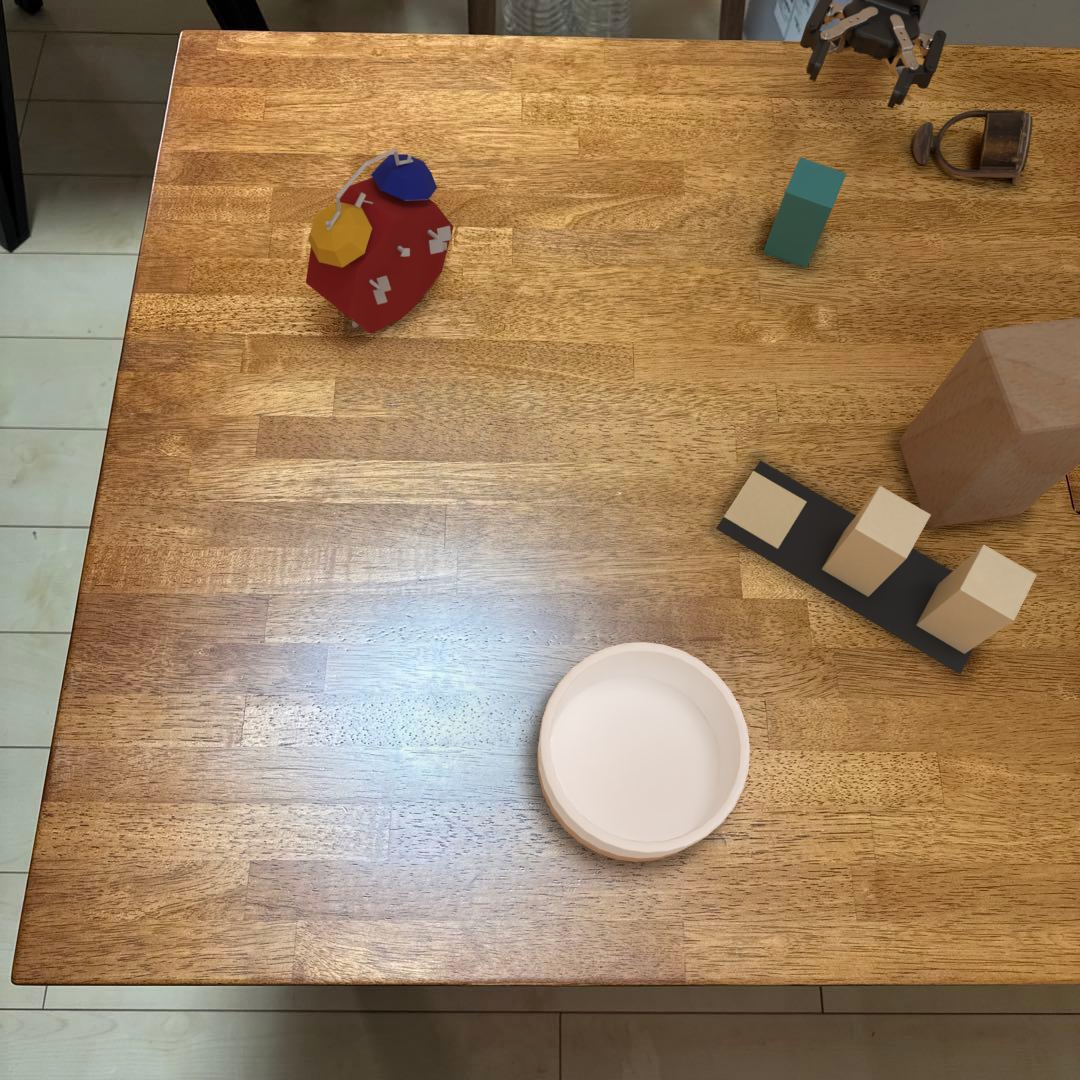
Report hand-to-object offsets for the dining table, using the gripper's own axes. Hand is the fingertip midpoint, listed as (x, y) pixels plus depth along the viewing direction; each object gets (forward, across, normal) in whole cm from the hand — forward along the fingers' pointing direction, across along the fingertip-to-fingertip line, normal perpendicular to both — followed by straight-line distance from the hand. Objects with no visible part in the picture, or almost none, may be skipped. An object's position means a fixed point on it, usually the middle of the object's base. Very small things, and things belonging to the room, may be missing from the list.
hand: (853, 87), depth 105 cm
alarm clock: (+36, -36, +12) cm, 52 cm away
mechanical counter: (-9, +15, +12) cm, 22 cm away
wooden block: (+32, +25, +12) cm, 42 cm away
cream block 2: (+47, +28, +11) cm, 55 cm away
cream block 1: (+45, +18, +11) cm, 50 cm away
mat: (+45, +18, +12) cm, 50 cm away
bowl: (+71, +5, +12) cm, 72 cm away
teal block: (+11, 0, +12) cm, 17 cm away
